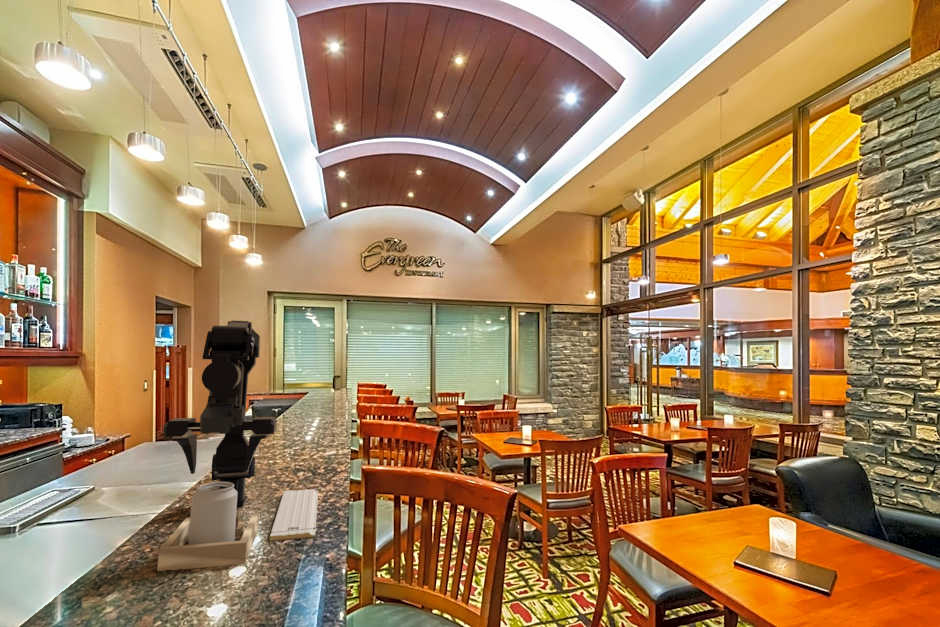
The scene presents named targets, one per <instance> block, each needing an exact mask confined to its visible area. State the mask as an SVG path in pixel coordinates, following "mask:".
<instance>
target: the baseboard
mask: <svg viewBox="0 0 940 627" xmlns="http://www.w3.org/2000/svg"><path fill="white" fill-rule="evenodd" d="M282 493H283V494H282V495H281V500H280V501H279V506H278V509H277V512H276V515H275V519H274V522H273V525H272V529H271V531H270V532H269V533H270V535H269V542H270V541H271V542H273V541H282V540H283V541H285V540H292V539H293V540H294V539H296V540H297V539H306V538H315V537H316V538H317V537H318V536H319V533H320V534H321V533H323V532H322V531H318V532H317V530H316V528H317V517H316V516H317V515H318V500H319V499H318V498H319V491H318V490H315V489H314V488H312V489H311V488H310V489H297V490H294V489H293V490H292V489H291V490H284V491H283V492H282Z"/></svg>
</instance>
